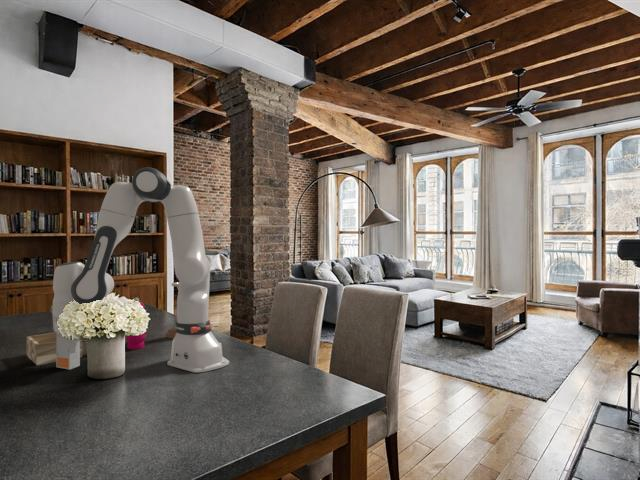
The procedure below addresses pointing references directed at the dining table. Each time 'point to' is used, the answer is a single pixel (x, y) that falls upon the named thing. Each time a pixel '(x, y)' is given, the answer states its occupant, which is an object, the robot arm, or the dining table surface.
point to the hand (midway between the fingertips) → (67, 350)
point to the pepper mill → (136, 338)
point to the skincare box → (66, 354)
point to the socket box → (43, 348)
